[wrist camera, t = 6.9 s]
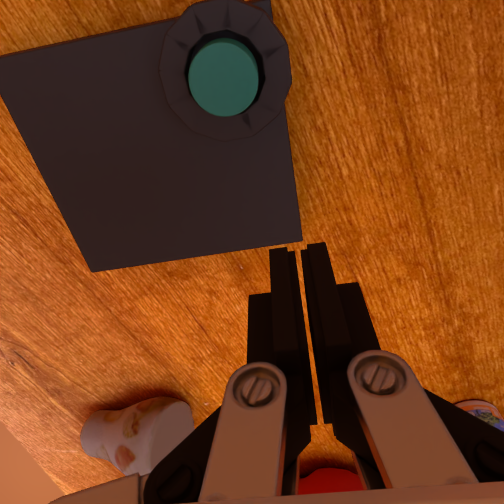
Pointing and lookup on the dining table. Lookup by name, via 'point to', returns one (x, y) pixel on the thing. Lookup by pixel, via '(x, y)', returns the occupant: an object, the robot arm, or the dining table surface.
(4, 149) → the dining table surface
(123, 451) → the white floral vase
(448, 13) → the dining table surface
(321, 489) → the tomato
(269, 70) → the scale
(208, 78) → the button
